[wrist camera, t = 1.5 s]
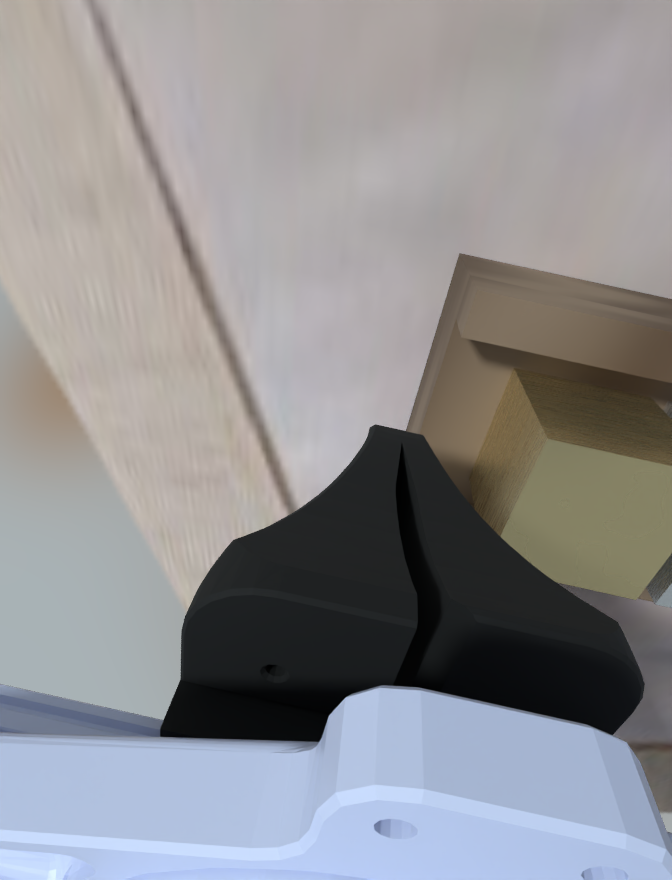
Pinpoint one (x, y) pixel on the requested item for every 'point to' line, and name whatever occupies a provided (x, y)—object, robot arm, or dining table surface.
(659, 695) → the dining table surface
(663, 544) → the yellow cube
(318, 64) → the dining table surface
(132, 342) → the dining table surface
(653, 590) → the grey cube
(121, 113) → the dining table surface
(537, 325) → the slot block
